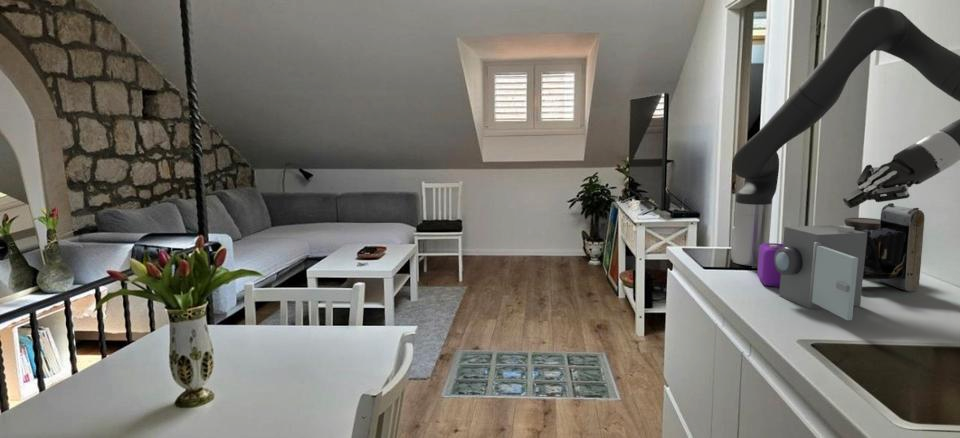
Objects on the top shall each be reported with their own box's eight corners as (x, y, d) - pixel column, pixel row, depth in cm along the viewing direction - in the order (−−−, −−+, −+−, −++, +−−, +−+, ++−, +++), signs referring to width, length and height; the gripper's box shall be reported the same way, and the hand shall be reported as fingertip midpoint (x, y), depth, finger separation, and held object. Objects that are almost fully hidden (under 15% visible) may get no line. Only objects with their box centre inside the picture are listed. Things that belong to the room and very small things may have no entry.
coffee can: (890, 279, 148) (896, 224, 146) (843, 275, 152) (848, 222, 150) (880, 270, 158) (886, 218, 156) (836, 267, 162) (841, 216, 159)
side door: (813, 302, 124) (818, 242, 122) (852, 322, 111) (859, 255, 109) (805, 302, 124) (810, 242, 122) (843, 322, 111) (850, 255, 109)
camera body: (768, 296, 133) (774, 222, 131) (825, 293, 136) (831, 220, 133) (799, 309, 124) (806, 230, 121) (860, 305, 126) (868, 228, 124)
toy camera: (789, 275, 152) (792, 238, 151) (813, 290, 139) (817, 248, 137) (745, 274, 153) (748, 237, 152) (765, 289, 140) (768, 247, 138)
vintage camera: (829, 284, 145) (835, 205, 142) (888, 281, 146) (895, 202, 143) (857, 296, 136) (864, 211, 132) (920, 292, 137) (928, 208, 133)
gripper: (900, 133, 125) (822, 178, 130) (945, 155, 113) (858, 204, 118) (911, 159, 128) (835, 202, 132) (956, 183, 116) (871, 230, 121)
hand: (846, 203), depth 125 cm, fingers closed
